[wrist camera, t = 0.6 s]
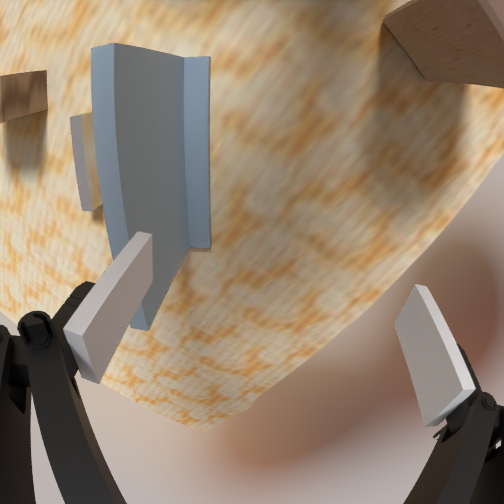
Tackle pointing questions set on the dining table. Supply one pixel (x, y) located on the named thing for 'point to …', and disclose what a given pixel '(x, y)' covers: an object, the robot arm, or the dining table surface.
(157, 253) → the wall board
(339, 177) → the dining table surface
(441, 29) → the wooden block
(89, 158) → the cleat rail
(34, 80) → the wooden box
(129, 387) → the dining table surface
